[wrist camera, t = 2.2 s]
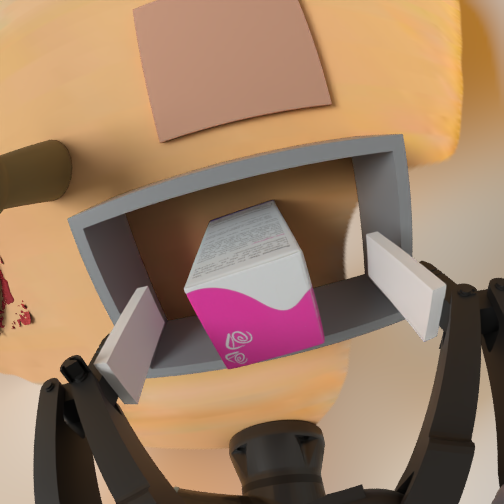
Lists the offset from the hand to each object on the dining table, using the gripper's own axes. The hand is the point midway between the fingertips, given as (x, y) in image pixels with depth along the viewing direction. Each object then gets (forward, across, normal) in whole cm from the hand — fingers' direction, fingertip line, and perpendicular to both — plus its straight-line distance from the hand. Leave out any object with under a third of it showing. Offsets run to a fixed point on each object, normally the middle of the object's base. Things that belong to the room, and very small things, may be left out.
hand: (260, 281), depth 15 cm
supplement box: (+9, 0, 0) cm, 9 cm away
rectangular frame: (+8, 0, 0) cm, 8 cm away
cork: (+9, +17, -12) cm, 22 cm away
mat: (+9, -2, -16) cm, 19 cm away
